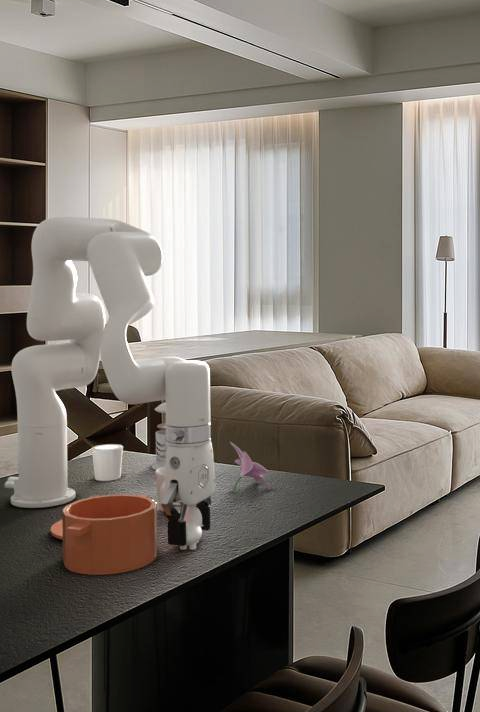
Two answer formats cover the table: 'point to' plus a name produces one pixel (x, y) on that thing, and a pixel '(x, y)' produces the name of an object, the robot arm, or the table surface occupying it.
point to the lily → (250, 467)
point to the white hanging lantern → (161, 441)
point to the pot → (109, 534)
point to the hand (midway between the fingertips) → (189, 536)
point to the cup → (162, 486)
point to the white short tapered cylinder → (107, 461)
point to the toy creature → (192, 527)
